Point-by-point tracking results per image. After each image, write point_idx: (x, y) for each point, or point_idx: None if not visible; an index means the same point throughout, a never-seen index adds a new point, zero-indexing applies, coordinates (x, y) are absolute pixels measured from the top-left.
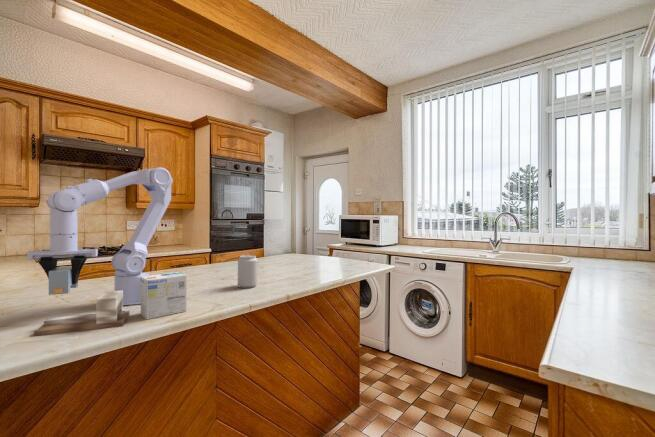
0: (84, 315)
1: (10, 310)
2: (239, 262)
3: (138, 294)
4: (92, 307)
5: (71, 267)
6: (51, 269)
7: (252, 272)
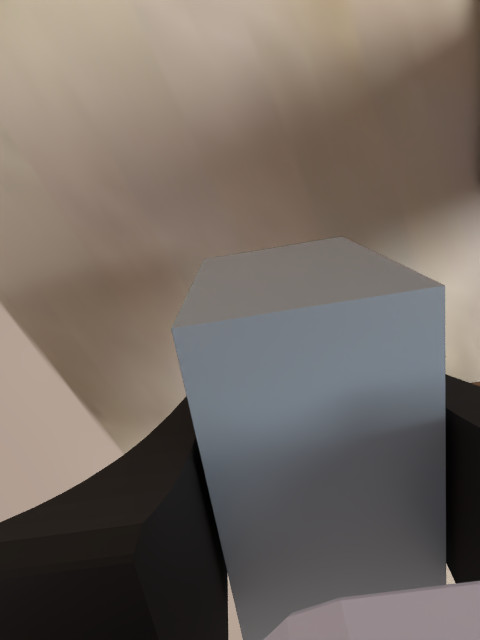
0: None
1: None
2: None
3: None
4: (367, 162)
5: (401, 456)
6: (226, 612)
7: None
